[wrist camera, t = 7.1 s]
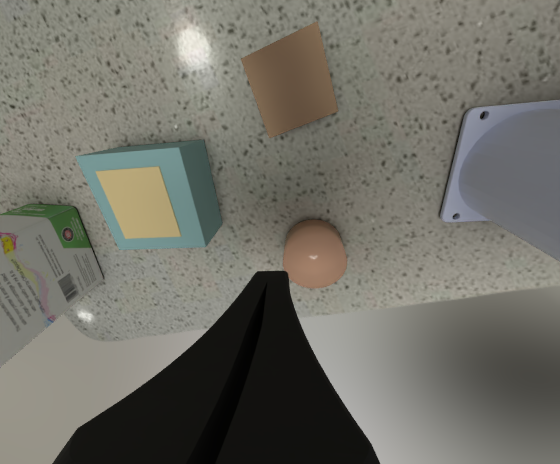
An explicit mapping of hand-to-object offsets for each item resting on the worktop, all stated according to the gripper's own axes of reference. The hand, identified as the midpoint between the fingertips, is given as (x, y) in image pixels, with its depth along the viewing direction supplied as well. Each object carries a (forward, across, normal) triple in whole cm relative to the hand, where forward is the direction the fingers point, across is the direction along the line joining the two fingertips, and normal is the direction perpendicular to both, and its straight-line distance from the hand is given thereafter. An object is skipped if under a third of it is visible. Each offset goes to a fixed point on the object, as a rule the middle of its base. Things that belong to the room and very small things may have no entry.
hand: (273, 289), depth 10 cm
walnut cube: (+10, -1, -8) cm, 13 cm away
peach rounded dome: (+10, -2, +4) cm, 11 cm away
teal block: (+8, +6, -2) cm, 10 cm away
